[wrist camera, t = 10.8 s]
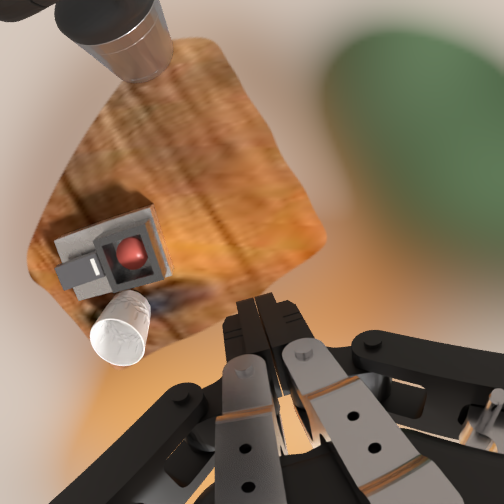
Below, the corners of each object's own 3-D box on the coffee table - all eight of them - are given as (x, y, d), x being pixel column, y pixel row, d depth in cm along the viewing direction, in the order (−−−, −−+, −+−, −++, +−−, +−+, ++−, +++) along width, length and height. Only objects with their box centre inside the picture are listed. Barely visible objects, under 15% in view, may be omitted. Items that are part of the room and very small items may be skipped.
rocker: (57, 264, 37) (54, 268, 35) (98, 249, 38) (95, 253, 37) (67, 286, 38) (63, 290, 37) (107, 272, 39) (105, 276, 38)
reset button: (114, 240, 39) (111, 243, 37) (143, 231, 39) (141, 234, 38) (125, 269, 40) (123, 273, 39) (153, 261, 40) (151, 265, 39)
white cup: (100, 295, 44) (79, 327, 35) (140, 279, 44) (126, 311, 35) (122, 334, 47) (109, 371, 38) (162, 320, 47) (155, 358, 38)
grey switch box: (62, 235, 40) (41, 249, 34) (153, 203, 41) (143, 213, 35) (85, 292, 44) (69, 313, 37) (174, 267, 45) (169, 287, 38)
